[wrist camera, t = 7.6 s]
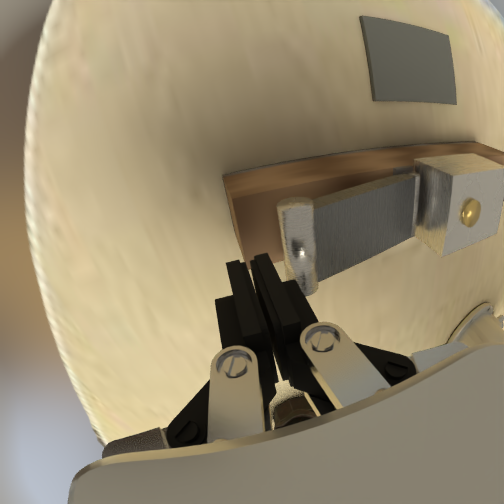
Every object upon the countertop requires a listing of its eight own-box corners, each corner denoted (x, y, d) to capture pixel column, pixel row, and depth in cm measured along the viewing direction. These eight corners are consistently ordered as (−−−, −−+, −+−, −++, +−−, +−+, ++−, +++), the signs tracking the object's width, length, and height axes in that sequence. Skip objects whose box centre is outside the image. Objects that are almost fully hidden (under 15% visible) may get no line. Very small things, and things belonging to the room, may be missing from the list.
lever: (426, 171, 14) (287, 215, 11) (420, 239, 16) (297, 301, 14) (406, 164, 15) (270, 203, 13) (403, 230, 17) (282, 284, 15)
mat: (445, 35, 15) (448, 35, 14) (453, 104, 18) (456, 104, 18) (359, 16, 14) (362, 15, 14) (372, 100, 17) (375, 101, 17)
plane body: (475, 141, 21) (534, 165, 14) (472, 180, 23) (527, 210, 16) (222, 175, 18) (241, 222, 12) (235, 232, 21) (258, 302, 14)
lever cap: (473, 153, 16) (510, 169, 12) (466, 213, 18) (499, 235, 15) (412, 158, 15) (456, 177, 12) (408, 231, 18) (444, 259, 14)
